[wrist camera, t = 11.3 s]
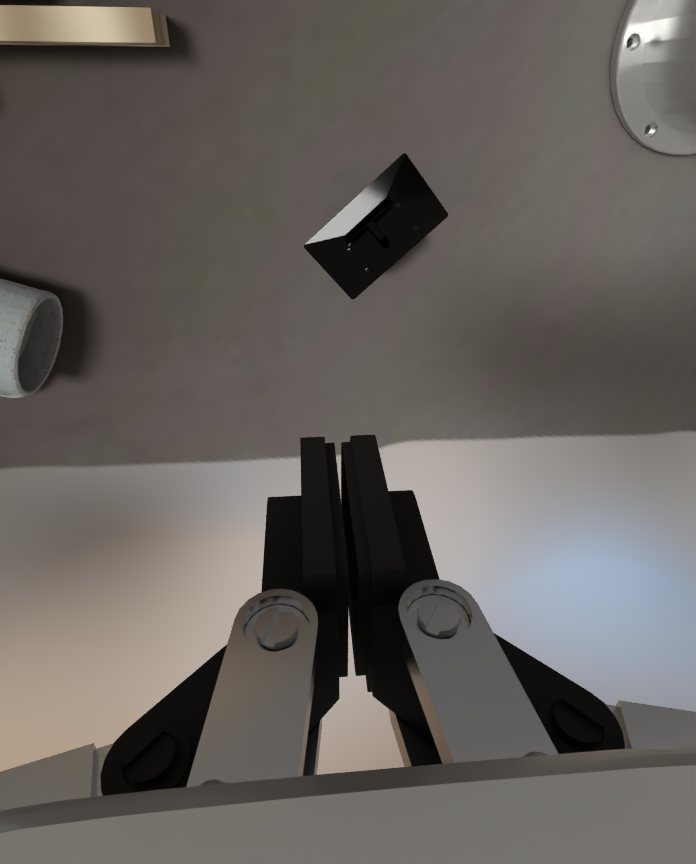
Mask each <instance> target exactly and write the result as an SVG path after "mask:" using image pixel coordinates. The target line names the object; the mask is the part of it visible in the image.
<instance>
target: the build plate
mask: <svg viewBox="0 0 696 864" xmlns="http://www.w3.org/2000/svg"><path fill="white" fill-rule="evenodd" d="M447 216H448V213H447V212H446V210H445V209H444V207H443V206H442V205H441V203H440V202H439V200H438V199H437V197H436V196H435V195H434V193H433V192H432V190H431V189H430V187H429V186H428V185H427V183H426V182H425V180H424V179H423V177H422V176H421V175H420V173H419V172H418V170H417V169H416V167H415V166H414V164H413V163H412V162H411V160H410V159H409V157H408V156H407V155H406V154H402V155H401V156H400V157H399V158H398V159H397V160H396V161H395V162H394V163H393V164H391V165H390V166H389V167H388V168H387V169H386V170H385V171H384V172H383V173H382V174H381V175H380V176H378V177H377V178H376V179H375V180H374V181H373V182H372V183H371V184H370V185H369V186H368V187H367V188H365V189H364V190H363V191H362V192H361V193H360V194H359V195H358V196H357V197H356V198H355V199H354V200H352V201H351V202H350V203H349V204H348V205H347V206H346V207H345V208H344V209H343V210H342V211H341V212H340V213H338V214H337V215H336V216H335V217H334V218H333V219H332V220H331V221H330V222H329V223H328V224H327V225H325V226H324V227H323V228H322V229H321V230H320V231H319V232H318V233H317V234H316V235H315V236H314V237H312V238H311V239H310V240H309V241H308V242H307V243H306V244H305V245H304V248H305V249H306V250H307V251H308V252H309V253H310V255H311V256H312V257H313V258H314V259H315V260H316V261H317V262H318V263H319V264H320V265H321V266H322V268H323V269H324V270H325V271H326V272H327V273H328V274H329V275H330V276H331V277H332V278H333V279H334V281H335V282H336V283H337V284H338V285H339V286H340V287H341V288H342V289H343V290H344V291H345V293H346V294H347V295H348V296H349V297H350V298H351V299H355V298H356V297H357V296H358V295H359V294H360V293H362V292H363V291H364V290H365V289H366V288H367V287H368V286H370V285H371V284H372V283H373V282H374V281H375V280H376V279H377V278H379V277H380V276H381V275H382V274H383V273H384V272H385V271H387V270H388V269H389V268H390V267H391V266H392V265H393V264H394V263H396V262H397V261H398V260H399V259H400V258H401V257H402V256H404V255H405V254H406V253H407V252H408V251H409V250H410V249H412V248H413V247H414V246H415V245H416V244H417V243H418V242H419V241H420V240H422V239H423V238H424V237H425V236H426V235H427V234H428V233H430V232H431V231H432V230H433V229H434V228H435V227H436V226H437V225H439V224H440V223H441V222H442V221H443V220H444V219H445V218H447Z"/></svg>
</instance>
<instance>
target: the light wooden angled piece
mask: <svg viewBox="0 0 696 864" xmlns="http://www.w3.org/2000/svg"><path fill="white" fill-rule="evenodd" d="M0 45H63V46H140V47H170V43H169V36H168V29H167V22H166V16H165V15H163V14H162V13H160V12H158V11H156V10H154V9H152V8H135V7H81V6H26V5H0Z"/></svg>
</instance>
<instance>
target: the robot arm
mask: <svg viewBox="0 0 696 864" xmlns="http://www.w3.org/2000/svg"><path fill="white" fill-rule="evenodd" d="M628 39H629V45H628V46H627V47H626V42H627V40H628ZM610 81H611V94H612V98H613V102H614V107H615V111H616V113H617V115H618V117H619V119H620V121H621V123H622V125H623V127H624V128H625V129H626V130H627V132H628V133H629V134H630V135H631V137H632V138H633V139H635V140H636V141H637V142H639V143H640V144H642V145H643V146H644V147H647V148H649V149H652V150H654V151H657V152H661V153H667V154H672V155H691V154H696V0H629V2H628V4H627V6H626V9H625V11H624V14H623V16H622V18H621V21H620V23H619V26H618V30H617V34H616V38H615V41H614V45H613V49H612V58H611V67H610ZM646 127H647V130H646V131H645V129H646ZM300 441H301V495H302V496H285V497H269V498H268V502H267V515H266V531H265V548H264V563H263V579H262V593H259V594H257V595H255V596H254V597H252V598H251V599H249V600H248V601H247V602H246V603H245V604H244V605H243V606H242V607H241V608H240V609H239V611H238V613H237V616H236V618H235V620H234V623H233V627H232V630H231V634H230V637H229V640H228V644H227V645H226V646H225V647H223V648H222V649H221V650H220V651H219V652H217V653H216V654H215V655H214V656H213V657H212V658H210V659H209V660H208V661H207V662H206V663H205V664H203V665H202V666H201V667H200V668H199V669H197V670H196V671H195V672H194V673H193V674H192V675H190V676H189V677H188V678H187V679H186V680H184V681H183V682H182V683H181V684H180V685H179V686H177V687H176V688H175V689H174V690H173V691H172V692H170V693H169V694H168V695H167V696H166V697H165V698H163V699H162V700H161V701H160V702H159V703H157V704H156V705H155V706H154V707H153V708H152V709H150V710H149V711H148V712H147V713H146V714H144V715H143V716H142V717H141V718H140V719H139V720H138V721H136V722H135V723H134V724H133V725H131V726H130V727H129V728H128V729H127V730H126V731H125V732H124V733H123V734H122V735H121V736H120V737H119V738H118V739H117V740H116V741H115V742H114V743H113V744H110V745H107V746H104V747H100V748H97V749H96V747H95V745H94V743H93V744H90V745H86V746H83V747H80V748H77V749H74V750H70V751H67V752H63V753H60V754H57V755H54V756H51V757H47V758H44V759H41V760H37V761H34V762H31V763H28V764H24V765H21V766H18V767H15V768H11V769H8V770H5V771H2V772H0V864H696V712H692V711H686V710H679V709H672V708H665V707H658V706H652V705H645V704H639V703H632V702H625V701H618V704H617V705H616V706H612V705H605V703H604V702H602V701H601V700H599V699H598V698H597V697H596V696H594V695H593V694H592V693H590V692H588V691H587V690H586V689H584V688H582V687H581V686H579V685H577V684H576V683H574V682H573V681H571V680H569V679H568V678H566V677H564V676H563V675H561V674H559V673H558V672H556V671H555V670H553V669H551V668H549V667H548V666H547V665H545V664H543V663H542V662H540V661H538V660H537V659H535V658H533V657H532V656H530V655H529V654H527V653H525V652H524V651H522V650H520V649H519V648H517V647H516V646H514V645H512V644H511V643H509V642H507V641H506V640H504V639H503V638H501V637H499V636H498V635H496V634H494V633H493V632H492V630H491V628H490V626H489V624H488V622H487V620H486V618H485V617H484V615H483V613H482V611H481V609H480V607H479V605H478V604H477V602H476V601H475V600H474V598H473V597H472V596H471V595H470V594H469V593H468V592H467V591H466V590H464V589H463V588H462V587H460V586H458V585H456V584H453V583H451V582H449V581H443V580H439V576H438V573H437V570H436V566H435V563H434V559H433V556H432V553H431V549H430V546H429V542H428V539H427V535H426V532H425V529H424V525H423V522H422V519H421V515H420V511H419V508H418V505H417V501H416V498H415V495H414V493H413V491H411V490H407V491H388V488H387V484H386V480H385V476H384V471H383V467H382V463H381V458H380V454H379V449H378V445H377V441H376V437H375V435H356V436H351V437H350V442H342V444H341V499H340V489H339V481H338V472H337V463H336V454H335V445H334V443H325V438H324V437H308V438H300ZM348 607H349V616H350V625H351V635H352V645H353V654H354V664H355V672H356V676H360V675H366V681H367V690H368V692H372V693H373V697H375V698H376V699H377V700H378V701H380V702H381V703H382V704H384V705H385V706H386V707H387V708H389V713H390V720H391V724H392V727H393V730H394V733H395V737H396V740H397V743H398V747H399V750H400V753H401V756H402V760H403V763H404V766H405V767H403V768H402V767H401V768H390V769H379V770H368V771H356V772H345V773H334V774H323V775H317V768H318V757H319V748H320V739H321V729H322V720H321V719H322V717H323V716H324V715H325V714H326V713H327V712H328V710H330V708H331V707H332V706H333V705H334V704H335V703H336V702H337V701H338V699H339V677H347V676H348Z"/></svg>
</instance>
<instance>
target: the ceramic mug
mask: <svg viewBox="0 0 696 864" xmlns="http://www.w3.org/2000/svg"><path fill="white" fill-rule="evenodd" d="M62 330H63V309H62V305H61V302H60V300H59V298H58V297H57V296H56V295H55V294H53V293H51V292H49V291H45V290H40V289H36V288H33V287H29V286H26V285H23V284H19V283H16V282H12V281H8V280H4V279H0V396H2V397H9V398H19V397H23V396H30V395H32V394H34V393H35V392H36V391H38V390H39V389H40V388H41V386H42V385H43V383H44V382H45V380H46V379H47V377H48V375H49V373H50V372H51V369H52V367H53V364H54V362H55V359H56V356H57V353H58V350H59V347H60V341H61V335H62Z"/></svg>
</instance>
